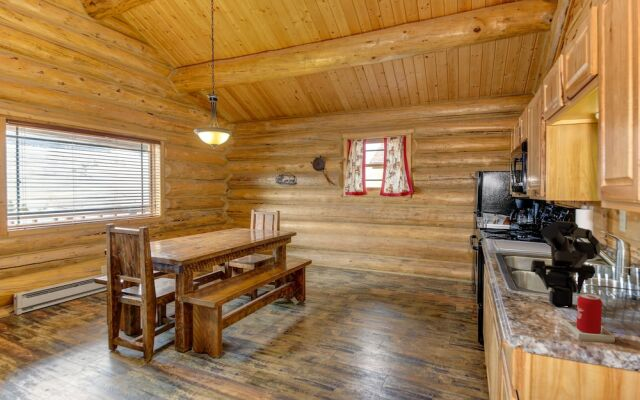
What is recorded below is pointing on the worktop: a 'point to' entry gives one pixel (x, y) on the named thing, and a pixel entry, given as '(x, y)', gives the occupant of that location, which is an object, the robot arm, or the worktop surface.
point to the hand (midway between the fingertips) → (563, 291)
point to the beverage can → (589, 313)
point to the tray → (602, 337)
